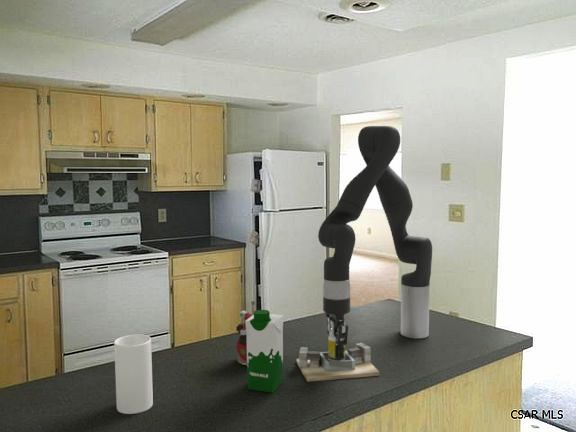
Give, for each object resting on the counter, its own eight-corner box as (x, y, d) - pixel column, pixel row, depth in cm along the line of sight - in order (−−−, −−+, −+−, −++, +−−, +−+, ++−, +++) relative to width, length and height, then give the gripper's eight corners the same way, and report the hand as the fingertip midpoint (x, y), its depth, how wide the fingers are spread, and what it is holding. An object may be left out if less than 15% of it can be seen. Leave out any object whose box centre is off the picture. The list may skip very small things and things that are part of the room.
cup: (121, 398, 123) (119, 334, 121) (155, 397, 124) (153, 333, 122) (112, 414, 115) (110, 346, 113) (149, 413, 115) (147, 345, 114)
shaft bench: (295, 362, 146) (294, 345, 145) (363, 356, 149) (363, 340, 149) (305, 381, 132) (305, 363, 131) (380, 375, 136) (381, 357, 135)
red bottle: (277, 358, 148) (276, 299, 147) (262, 370, 140) (261, 307, 138) (245, 353, 153) (245, 295, 151) (229, 364, 144) (228, 303, 143)
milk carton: (242, 390, 127) (241, 312, 125) (256, 376, 136) (255, 303, 134) (275, 395, 124) (274, 316, 122) (287, 380, 133) (286, 306, 131)
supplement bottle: (344, 363, 138) (344, 333, 137) (327, 361, 139) (327, 332, 138) (345, 356, 142) (345, 327, 142) (329, 355, 143) (329, 326, 142)
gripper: (357, 300, 132) (357, 363, 134) (342, 288, 147) (342, 345, 148) (330, 302, 131) (330, 365, 133) (317, 289, 145) (317, 347, 147)
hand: (336, 354), depth 140 cm, fingers closed on supplement bottle, 4 cm apart
